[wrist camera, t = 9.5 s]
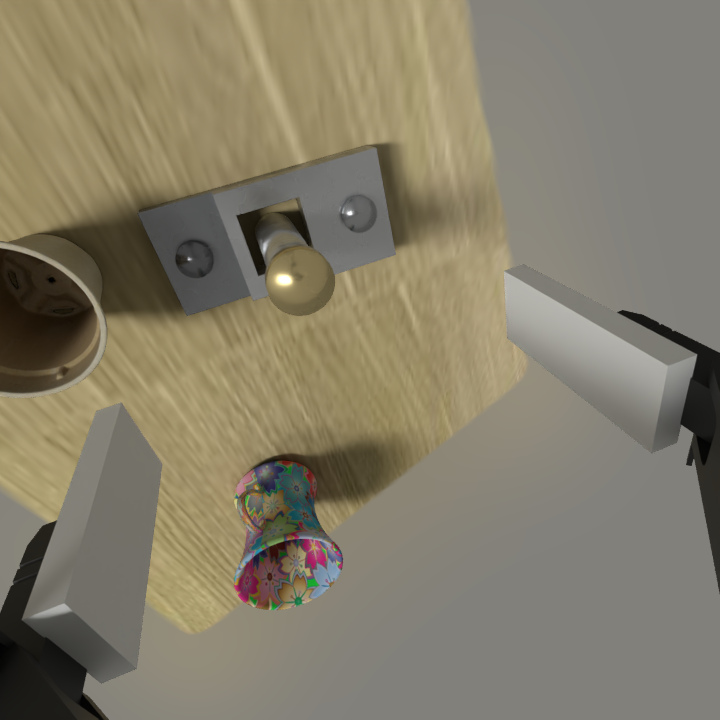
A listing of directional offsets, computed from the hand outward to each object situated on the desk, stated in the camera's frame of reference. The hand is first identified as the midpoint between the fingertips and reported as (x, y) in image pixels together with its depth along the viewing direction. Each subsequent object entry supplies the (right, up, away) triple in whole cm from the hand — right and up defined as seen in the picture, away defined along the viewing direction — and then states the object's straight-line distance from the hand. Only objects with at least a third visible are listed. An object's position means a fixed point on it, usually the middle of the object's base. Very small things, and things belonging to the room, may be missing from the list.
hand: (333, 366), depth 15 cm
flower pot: (-21, +6, +17) cm, 28 cm away
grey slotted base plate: (-6, +10, +20) cm, 23 cm away
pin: (-6, +10, +20) cm, 23 cm away
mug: (-9, -12, +32) cm, 35 cm away
